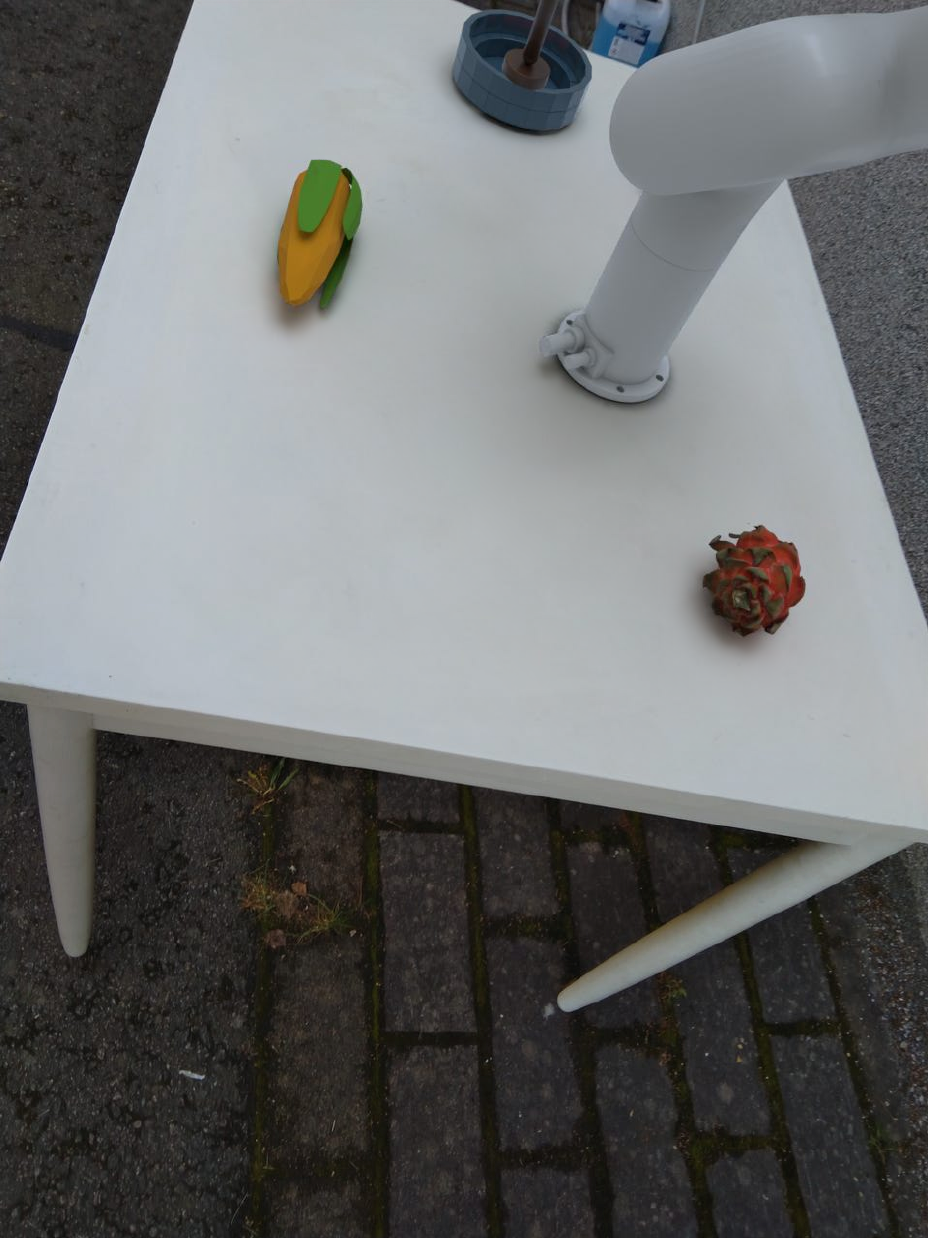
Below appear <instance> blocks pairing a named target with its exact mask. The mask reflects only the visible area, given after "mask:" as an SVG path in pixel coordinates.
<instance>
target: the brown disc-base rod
mask: <svg viewBox="0 0 928 1238" xmlns="http://www.w3.org/2000/svg"><path fill="white" fill-rule="evenodd" d="M558 3H559V0H539V3H538V6H537V9H536V13H535V16H534V17H535V18H534V21H533V24H532V27H531V30H530V33H529V36H528V39H527V42H526V45H525V49H524V50H523V49H512V50H509V51H508V52H507V53H506V55H505V58H504V61H503V64H502V71H503V73H504V75H505V76H506V78H507V79H508V80H510V81H511V82H512V83H514V84H515V85H517V86H519V87H522V88H525V89H529V90H539V89H542V88H543V87H545V85H546V83H547V80H548V78H549V75H550V68H549V66H548V64H547V63H546V62H545V60H543V59H542V58H541V57H540V56H539V55H540V52H541V49H542V46H543V43H544V40H545V38H546V35H547V32H548V29H549V26H550V25H551V22H552V20H553V17H554V15H555V11H556V9H557V5H558Z"/></svg>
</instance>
